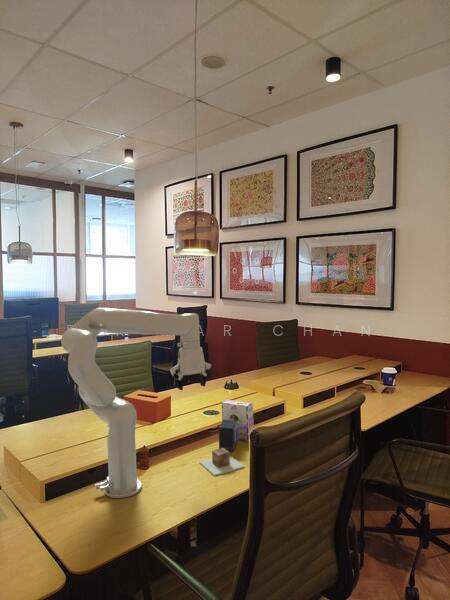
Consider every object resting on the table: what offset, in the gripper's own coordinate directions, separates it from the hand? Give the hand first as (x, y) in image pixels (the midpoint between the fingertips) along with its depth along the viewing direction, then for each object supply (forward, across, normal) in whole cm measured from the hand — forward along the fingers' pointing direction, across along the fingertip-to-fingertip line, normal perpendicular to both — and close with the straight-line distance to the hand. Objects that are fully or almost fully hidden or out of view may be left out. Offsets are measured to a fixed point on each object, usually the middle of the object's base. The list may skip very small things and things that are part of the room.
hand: (191, 387), depth 161 cm
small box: (+31, +19, +6) cm, 37 cm away
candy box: (+31, +28, +13) cm, 43 cm away
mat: (+30, +8, -8) cm, 32 cm away
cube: (+30, +8, -8) cm, 32 cm away
